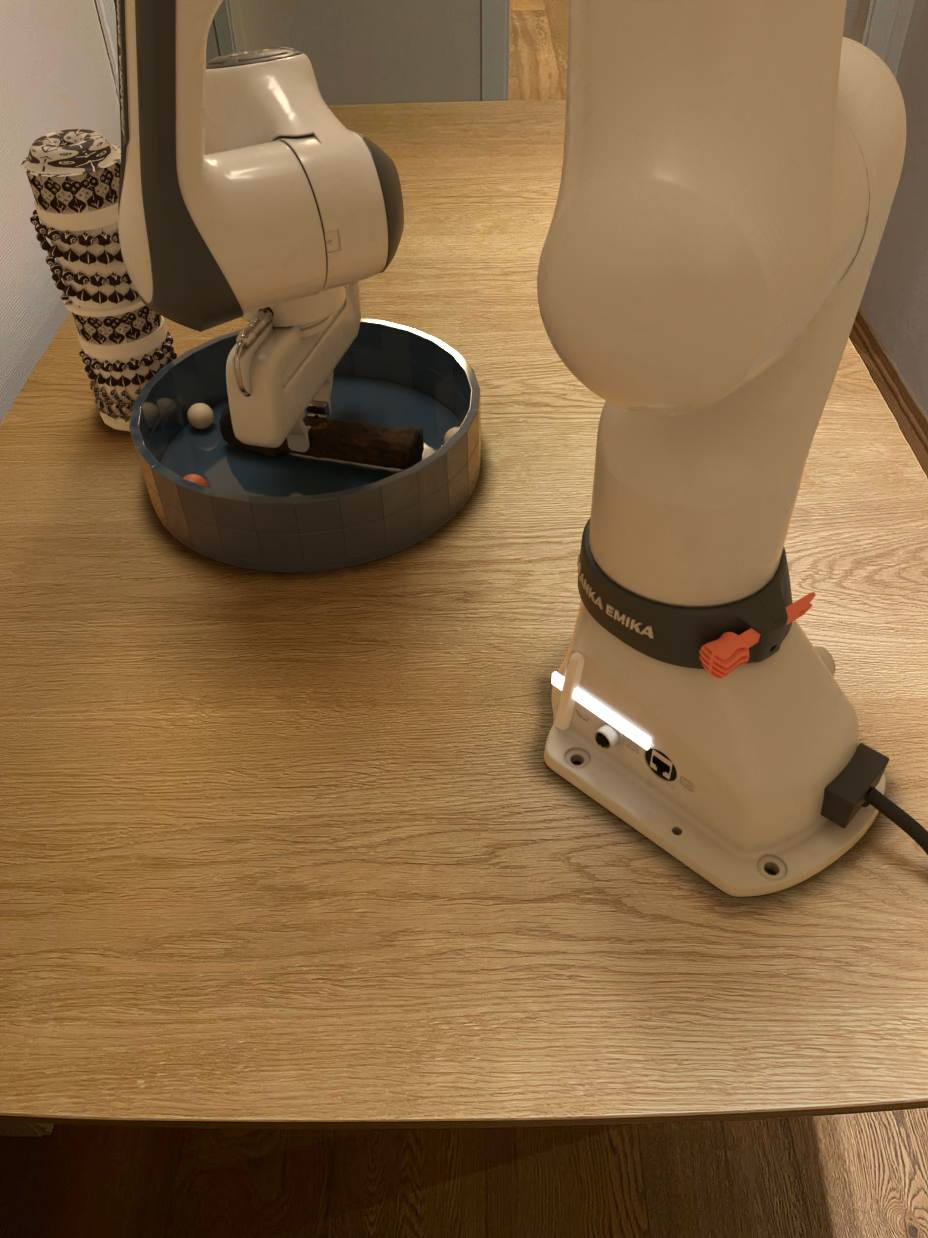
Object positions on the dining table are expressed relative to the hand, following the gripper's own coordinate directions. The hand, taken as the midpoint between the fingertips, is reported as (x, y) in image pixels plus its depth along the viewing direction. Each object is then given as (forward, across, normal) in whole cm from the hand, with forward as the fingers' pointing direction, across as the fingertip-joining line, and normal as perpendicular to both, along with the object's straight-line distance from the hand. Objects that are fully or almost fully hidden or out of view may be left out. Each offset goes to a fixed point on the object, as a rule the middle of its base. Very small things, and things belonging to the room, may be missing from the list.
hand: (311, 432), depth 85 cm
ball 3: (+1, +4, -12) cm, 13 cm away
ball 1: (+1, +2, +12) cm, 12 cm away
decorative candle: (+4, +6, +20) cm, 21 cm away
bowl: (+4, 0, 0) cm, 4 cm away
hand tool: (+3, -1, -1) cm, 3 cm away
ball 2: (+1, -8, +8) cm, 11 cm away
